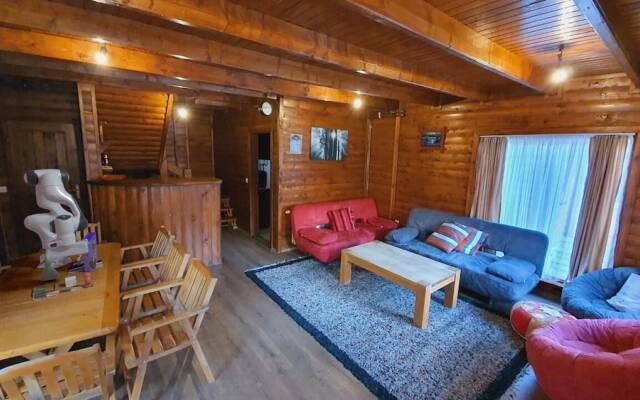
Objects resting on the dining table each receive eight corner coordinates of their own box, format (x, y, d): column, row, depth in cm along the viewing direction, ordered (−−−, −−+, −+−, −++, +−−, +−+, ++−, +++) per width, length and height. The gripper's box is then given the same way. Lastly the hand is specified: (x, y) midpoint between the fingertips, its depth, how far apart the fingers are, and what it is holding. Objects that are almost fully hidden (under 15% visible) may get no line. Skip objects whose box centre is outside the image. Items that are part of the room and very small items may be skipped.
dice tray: (34, 289, 175) (34, 287, 175) (56, 285, 182) (56, 283, 182) (33, 296, 168) (32, 294, 168) (56, 291, 175) (56, 289, 174)
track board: (33, 297, 168) (33, 296, 168) (93, 284, 186) (93, 283, 186) (32, 300, 164) (32, 299, 164) (94, 287, 183) (94, 286, 182)
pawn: (83, 285, 182) (82, 272, 181) (91, 283, 185) (90, 270, 183) (84, 288, 179) (82, 274, 178) (92, 286, 182) (91, 273, 180)
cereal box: (93, 271, 204) (90, 239, 199) (85, 272, 201) (82, 239, 197) (98, 262, 218) (95, 231, 214) (90, 263, 216) (87, 232, 212)
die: (66, 285, 183) (65, 277, 182) (76, 283, 186) (75, 275, 186) (66, 288, 180) (65, 280, 179) (76, 286, 183) (75, 278, 182)
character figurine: (29, 287, 178) (25, 259, 175) (33, 281, 185) (29, 255, 182) (63, 281, 187) (60, 255, 184) (65, 276, 194) (62, 251, 190)
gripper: (87, 237, 187) (89, 257, 189) (44, 242, 173) (47, 264, 176) (88, 239, 182) (90, 260, 185) (43, 245, 169) (46, 267, 171)
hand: (68, 262), depth 180 cm, fingers open, 8 cm apart
